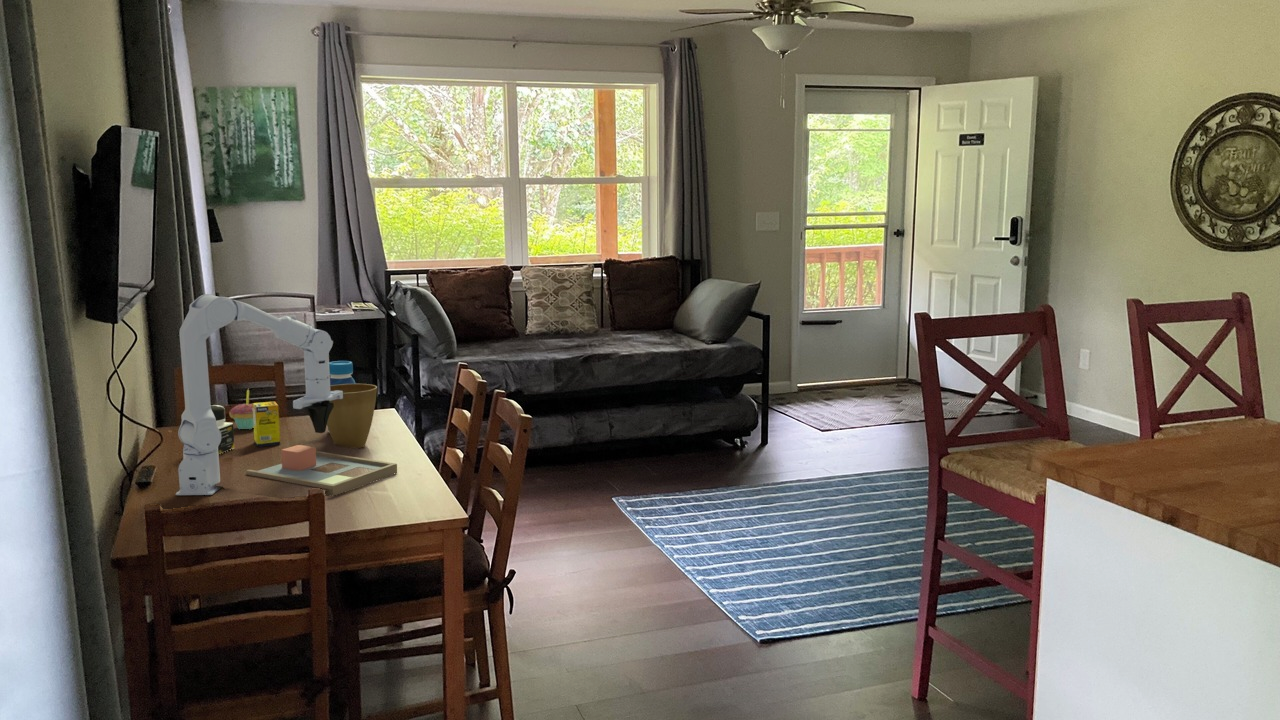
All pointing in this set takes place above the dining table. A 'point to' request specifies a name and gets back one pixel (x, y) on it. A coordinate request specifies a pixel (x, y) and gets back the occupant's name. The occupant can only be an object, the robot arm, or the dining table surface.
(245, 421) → the cupcake
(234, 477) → the dining table surface
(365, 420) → the plant pot
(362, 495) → the dining table surface
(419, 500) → the dining table surface
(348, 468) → the shallow rimmed tray
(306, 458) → the block
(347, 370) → the beverage bottle
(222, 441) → the medicine bottle
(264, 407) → the supplement box
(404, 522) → the dining table surface
